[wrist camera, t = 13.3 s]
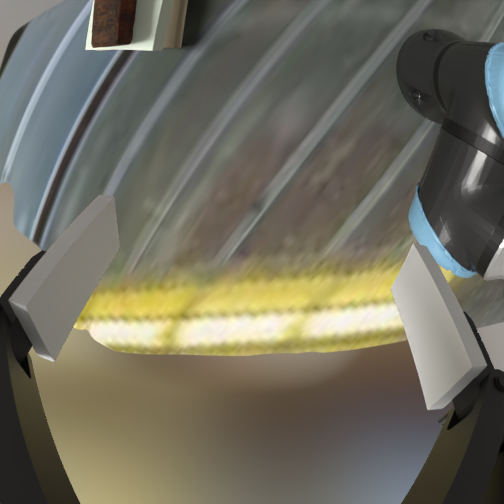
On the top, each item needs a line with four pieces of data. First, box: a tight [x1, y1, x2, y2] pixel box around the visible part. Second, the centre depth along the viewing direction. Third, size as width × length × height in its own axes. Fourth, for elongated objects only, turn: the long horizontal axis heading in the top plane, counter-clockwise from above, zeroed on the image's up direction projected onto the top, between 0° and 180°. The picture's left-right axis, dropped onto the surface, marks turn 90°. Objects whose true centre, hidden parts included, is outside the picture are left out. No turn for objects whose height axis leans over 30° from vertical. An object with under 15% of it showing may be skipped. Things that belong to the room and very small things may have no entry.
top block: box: [85, 0, 173, 51], centre depth 28 cm, size 10×12×4 cm
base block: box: [97, 0, 188, 51], centre depth 31 cm, size 12×12×4 cm
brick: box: [91, 0, 137, 48], centre depth 25 cm, size 11×4×5 cm, turn 174°
